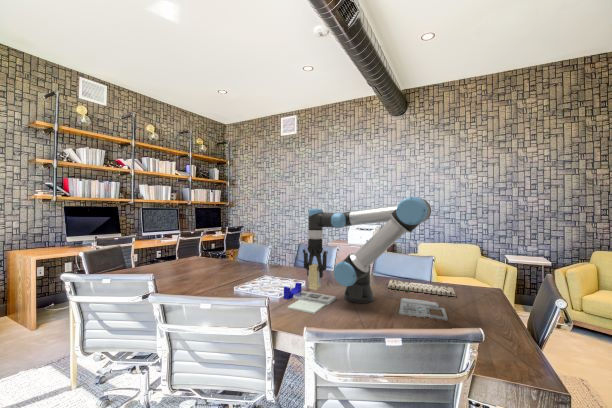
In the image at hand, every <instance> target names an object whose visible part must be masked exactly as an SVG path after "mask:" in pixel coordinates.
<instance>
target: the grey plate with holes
mask: <svg viewBox="0 0 612 408" xmlns="http://www.w3.org/2000/svg"><path fill="white" fill-rule="evenodd" d="M292 299H293V300H297V301H298V300H304V301H310V302H315V303H321V304H325V306H330V305H331V304H332V303H333V302H335V301H336V300H337V296H335V295H329V294H323V293H317V292H311V291H305V290H301V292H299V293H297V294H295V295H293V298H292Z"/></svg>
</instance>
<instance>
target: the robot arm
mask: <svg viewBox="0 0 612 408" xmlns="http://www.w3.org/2000/svg"><path fill="white" fill-rule="evenodd" d="M431 214H432V207H431V204H430V203H429V202H428V201H427V200H426V199H424V198H421V197H418V196H409V197H405V198H403V199H402V200H401V201H399V203H398V204H397V205H389V206H384V207H375V208H374V207H373V208H368V209H367V208H366V209H361V210H354V211H353V210H352V211H345V212H324V210H323V209H322V208H310V209H309V210H308V217H307V218H308V222H307V223H308V224H307V225H308V229H307V232H308V234H307V237H308V238H307V246H308V247H307V248H304V249H303V250H302V252H303V269H306V271H307V273H306V274H307V277H309V265H312V264H313V260H314V257H316V260H317V264H318V267H319V271H318V284H320V285H321V284H322V278H323V276H324V271H326V270H327V265H328V264H327V262H328V261H327V258H328V257H327V256H328V253H329V252H328V250H324V248H323V233H324V232H323V230H324V228H332V229H333V228H334V229H342V228H344V227H349V226H350V227H351V226H361V225H369V224H370V225H371V224H381V223H385V224H383V226H382V227H381V228H380V229H378V230H377V232H375V233H374V234H373V235H372V237H370V238H369V239H368V240H367V241H366V242H365V243H364V244H363V245H362V246H361V247H360V248H359V249H357V251H355V252H351V253H349V254H348V255H347V256H346V257H345V258H344V259H343V260H342V261H340V262H337V264H336V265H335V266H334V270H333V276H334V279H335V280H336V282H337V283H338V284H339V285H341V286H343V287H345V289H344V291H343V298H344V300H346V301H348V302H349V303H355V304H369V303H371V302H374V293H373V290H372V287H371V265H372V264H373V263H374V262H376V260H378V259H379V257H380V256H382V255H383V254H384V253H385V252H386V251H387V250H388V249H389V248H390V247H391V246H393V244H395V243H396V242H397V241H398V240H399V239H400V238H401V237H402V236H403V235H405V233H413V231H414V230H415V229H416V228H418V226H420V224H422V223H424V222H427V220H429V218H430V216H431ZM308 253H309V254H308Z"/></svg>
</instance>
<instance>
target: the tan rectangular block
mask: <svg viewBox="0 0 612 408" xmlns="http://www.w3.org/2000/svg"><path fill="white" fill-rule="evenodd" d="M318 271H319V267H318V263H317V264H316V263H315V264H314V263H312V265H309V276H308V289H309V290H314V291H315V290H316V291H317V290H319V289H321V284H318Z"/></svg>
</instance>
